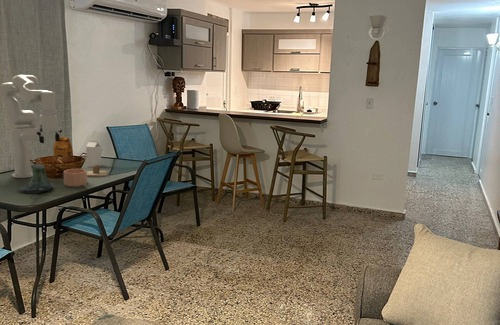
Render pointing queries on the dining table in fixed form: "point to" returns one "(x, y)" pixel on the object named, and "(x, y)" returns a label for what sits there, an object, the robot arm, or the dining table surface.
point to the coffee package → (63, 148)
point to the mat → (103, 176)
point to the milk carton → (93, 153)
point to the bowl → (75, 177)
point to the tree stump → (37, 181)
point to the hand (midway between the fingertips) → (49, 142)
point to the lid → (96, 172)
